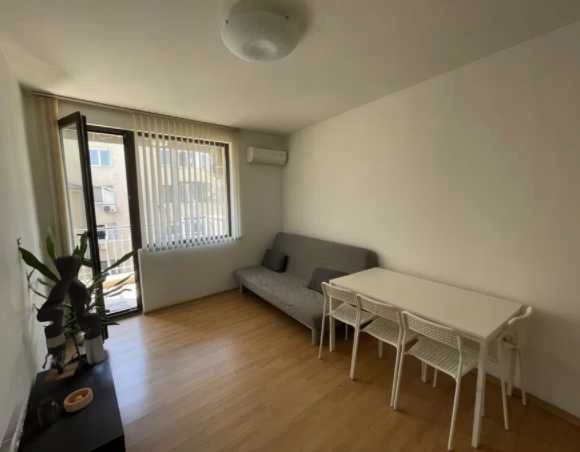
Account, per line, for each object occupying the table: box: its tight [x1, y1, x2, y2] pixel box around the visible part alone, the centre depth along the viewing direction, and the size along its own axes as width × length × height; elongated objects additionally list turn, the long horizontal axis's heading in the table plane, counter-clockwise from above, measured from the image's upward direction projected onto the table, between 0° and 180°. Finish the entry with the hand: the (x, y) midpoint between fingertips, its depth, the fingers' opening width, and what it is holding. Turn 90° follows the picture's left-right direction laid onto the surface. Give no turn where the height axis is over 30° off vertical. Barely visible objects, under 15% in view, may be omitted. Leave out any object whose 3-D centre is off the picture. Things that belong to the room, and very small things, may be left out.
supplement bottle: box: [37, 396, 60, 428], centre depth 121 cm, size 7×7×12 cm
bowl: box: [63, 387, 94, 413], centre depth 131 cm, size 11×11×5 cm
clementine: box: [74, 396, 83, 402], centre depth 131 cm, size 4×4×4 cm
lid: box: [42, 361, 79, 386], centre depth 137 cm, size 12×12×6 cm
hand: (61, 371), depth 137 cm, fingers closed on lid, 2 cm apart
